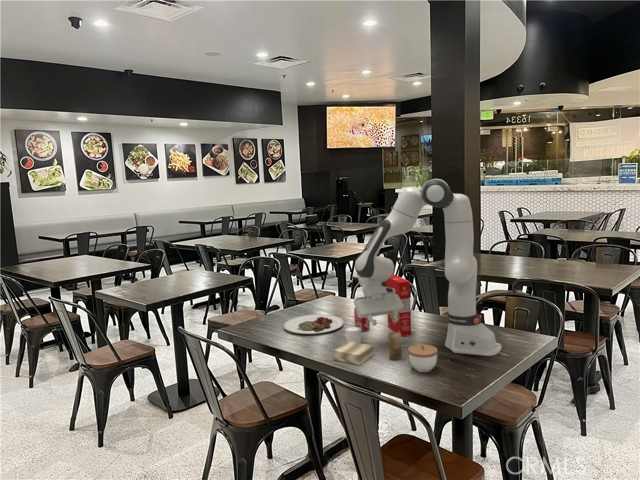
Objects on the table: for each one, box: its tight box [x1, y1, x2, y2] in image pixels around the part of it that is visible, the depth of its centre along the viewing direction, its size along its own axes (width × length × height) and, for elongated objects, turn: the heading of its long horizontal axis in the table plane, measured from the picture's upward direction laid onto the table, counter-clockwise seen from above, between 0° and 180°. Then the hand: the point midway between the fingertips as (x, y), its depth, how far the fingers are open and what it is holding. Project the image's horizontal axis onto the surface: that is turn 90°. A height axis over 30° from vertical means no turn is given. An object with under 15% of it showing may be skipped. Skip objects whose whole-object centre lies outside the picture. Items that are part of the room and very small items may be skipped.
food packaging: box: [385, 274, 412, 337], centre depth 222 cm, size 15×5×25 cm, turn 14°
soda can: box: [353, 306, 371, 332], centre depth 228 cm, size 7×7×12 cm
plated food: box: [283, 313, 345, 335], centre depth 237 cm, size 30×30×3 cm
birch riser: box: [333, 341, 375, 366], centre depth 194 cm, size 12×12×4 cm
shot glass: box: [344, 326, 362, 343], centre depth 209 cm, size 7×7×7 cm
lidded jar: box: [407, 343, 438, 373], centre depth 179 cm, size 11×11×9 cm
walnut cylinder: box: [387, 331, 403, 361], centre depth 191 cm, size 5×5×10 cm
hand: (385, 323), depth 198 cm, fingers open, 8 cm apart
